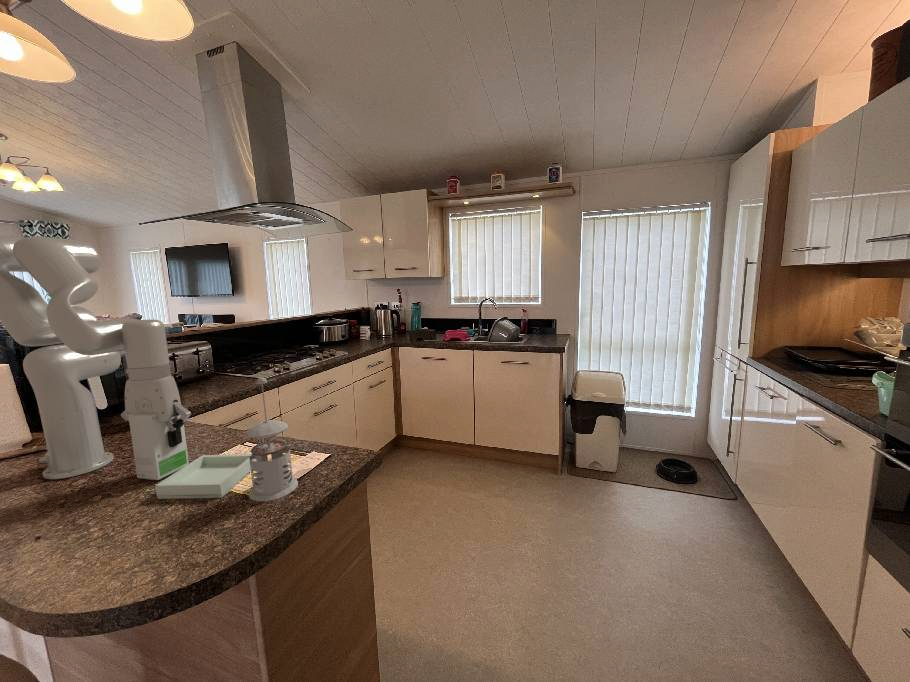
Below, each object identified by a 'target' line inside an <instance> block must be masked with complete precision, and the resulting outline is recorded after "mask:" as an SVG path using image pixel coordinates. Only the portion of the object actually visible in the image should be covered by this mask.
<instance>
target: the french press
mask: <svg viewBox="0 0 910 682" xmlns="http://www.w3.org/2000/svg"><path fill="white" fill-rule="evenodd" d="M267 383H268V380H267V378H265V377H259V378H258V379H257V380H256V385H261V392H262V394H261V395H262V401H263V407H264V420H265V421H261V422H258V423H256V424H253V425H252V426H251V427H250V428H248V429H247V430H246V431H245V435H246V436H247V437H249V438H253V439H261V441H262V442H260V443H258V444H256V445H254V446H253V447H251V449H250V450H249V451H250V454H252V455H251V456H250V458H249V460H250V468H251V467H252V470H251V473H250V474H251V482H252V487H251V489H250V490H249V493H248V498H249V499H250V500H251V501H254V502H255V501H256V502H269V501H274V500H277V499H280V498H283V497H285V496H287V495H289V494H290V493H292V492H294V490H296V489H297V487H298V486H299V485H298V484H299V481H298V479H296V478H295V477H294V476H293V475H294V474H293V468H292V467H293V466H292V457H291V448H290V447H288V442H287V441H286V440H282V439H273V440H272V437H274V436H277V435H280V434H282V433H284V432H285V431H286V430H287V429H288V426H289V424H288V423H286V422H284V421H281V420H275V419H268V418H267V413H266V412H267V411H266V409H267V408H266V402H265V393H264V385H265V384H267ZM263 384H264V385H263ZM266 438H267V441H264V439H266ZM284 452H286V453H285V454H284ZM268 456H271V459H270V460H269V458H268ZM253 459H256V462H255V461H251V460H253ZM294 478H295V479H296V480H295V479H294Z"/></svg>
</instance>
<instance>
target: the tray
mask: <svg viewBox="0 0 910 682" xmlns="http://www.w3.org/2000/svg"><path fill="white" fill-rule="evenodd" d="M251 455H252V453H249V454H248V453H243V454H241V453H240V454H206V455H205V454H203V455H201V456H199V457H197V458H196V459H195V460H193V461H191V462H189V464H188V465H186V466H185V467H183V468H181V469H179V470H177V471H175V472H173V473H171V474H170V475H168V477H165V479H163V480H161V481H160V482H158V483H157V484H155V486H154V487H155V493H156V499H157V500H164V499H166V500H167V499H168V500H169V499H212V498H213V499H216V498H218V499H219V498H223V497H225V495H228V493H229V492H230V491H231V490H232V489H234V488H235V487H236V486H237V485H238V484H239V483H240V482H241V481H240V480H242V479H243V478H244V477H245V476H246V475H247V474H248V473H249V472H250V471H251V470H252V467H251V468H250V460H249V458H250V456H251ZM251 461H255V462H256V459H253V460H251ZM248 475H249V474H248ZM248 475H247V476H248ZM247 476H246V477H247ZM246 477H245V478H246ZM245 478H244V479H245ZM244 479H243V480H244ZM243 480H242V481H243ZM239 481H240V482H239ZM238 482H239V483H238ZM237 483H238V484H237ZM236 484H237V485H236ZM235 485H236V486H235ZM234 486H235V487H234Z"/></svg>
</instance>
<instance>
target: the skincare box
mask: <svg viewBox="0 0 910 682" xmlns="http://www.w3.org/2000/svg"><path fill="white" fill-rule="evenodd" d="M174 411H175V410H174ZM175 412H176V411H175ZM176 413H177V412H176ZM172 416H173V415H172ZM178 417H179V418H180V415H179V416H178ZM128 418H129V424H130V425H129V428H130V430H129V431H130V436H131V443H132V449H133V456H134V464H135V472H136V477H137V479H144V480H153V481H159V480H162V479H163V478H166V477H167V476H170V475H172V474H174V473H176V472H177V471H179V470H180V469H182V468H183V467H185V466H186V465H188V464H190V462H189V453H188V445H187V440H186V431H185V430H186V429H185V423H184V424H183V426H182V427H181V435H182V443H180V444H178V445H176V446H175V447H169V441H168V434H167V433H168V431H170V430H169V428H168V427H167V425H166V424H165V422H161V423H159V422H157V417H156V414H129V415H128ZM171 421H172V422H173V424H174V423H175V422H174V420H173V419H172V420H171Z"/></svg>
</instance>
